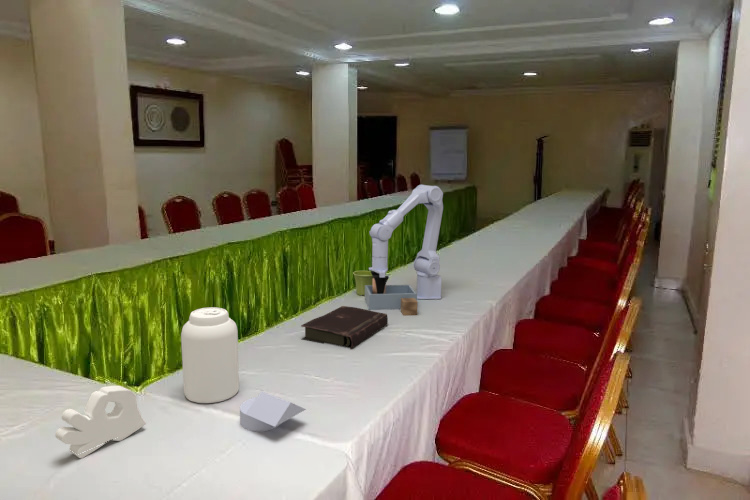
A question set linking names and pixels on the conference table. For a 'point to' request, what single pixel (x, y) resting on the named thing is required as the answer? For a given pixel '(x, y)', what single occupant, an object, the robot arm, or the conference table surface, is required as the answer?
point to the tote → (388, 297)
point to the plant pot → (362, 280)
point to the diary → (345, 326)
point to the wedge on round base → (266, 412)
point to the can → (210, 356)
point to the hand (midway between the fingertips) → (379, 292)
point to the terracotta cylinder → (374, 290)
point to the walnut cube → (408, 306)
